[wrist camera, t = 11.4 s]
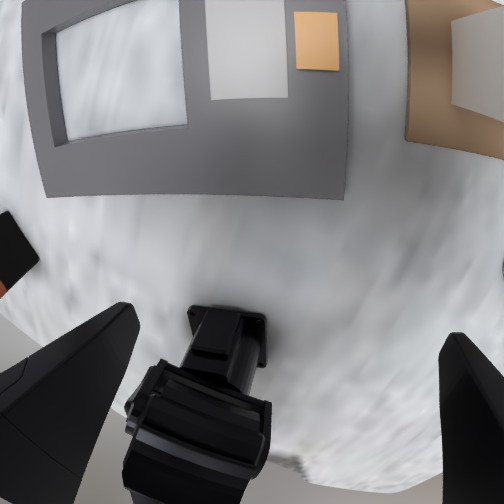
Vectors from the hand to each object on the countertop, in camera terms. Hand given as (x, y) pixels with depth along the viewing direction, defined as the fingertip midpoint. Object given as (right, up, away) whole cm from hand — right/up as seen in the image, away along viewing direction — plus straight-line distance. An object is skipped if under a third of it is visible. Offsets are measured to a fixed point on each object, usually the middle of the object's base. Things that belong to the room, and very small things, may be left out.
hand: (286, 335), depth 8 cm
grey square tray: (-7, +14, +7) cm, 17 cm away
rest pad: (+12, +12, +4) cm, 18 cm away
